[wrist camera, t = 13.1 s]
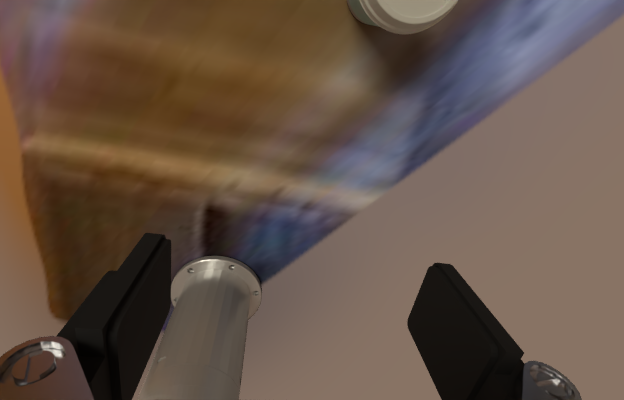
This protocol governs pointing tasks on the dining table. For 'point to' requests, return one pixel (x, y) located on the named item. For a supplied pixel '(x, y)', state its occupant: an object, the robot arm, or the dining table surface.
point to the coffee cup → (401, 13)
